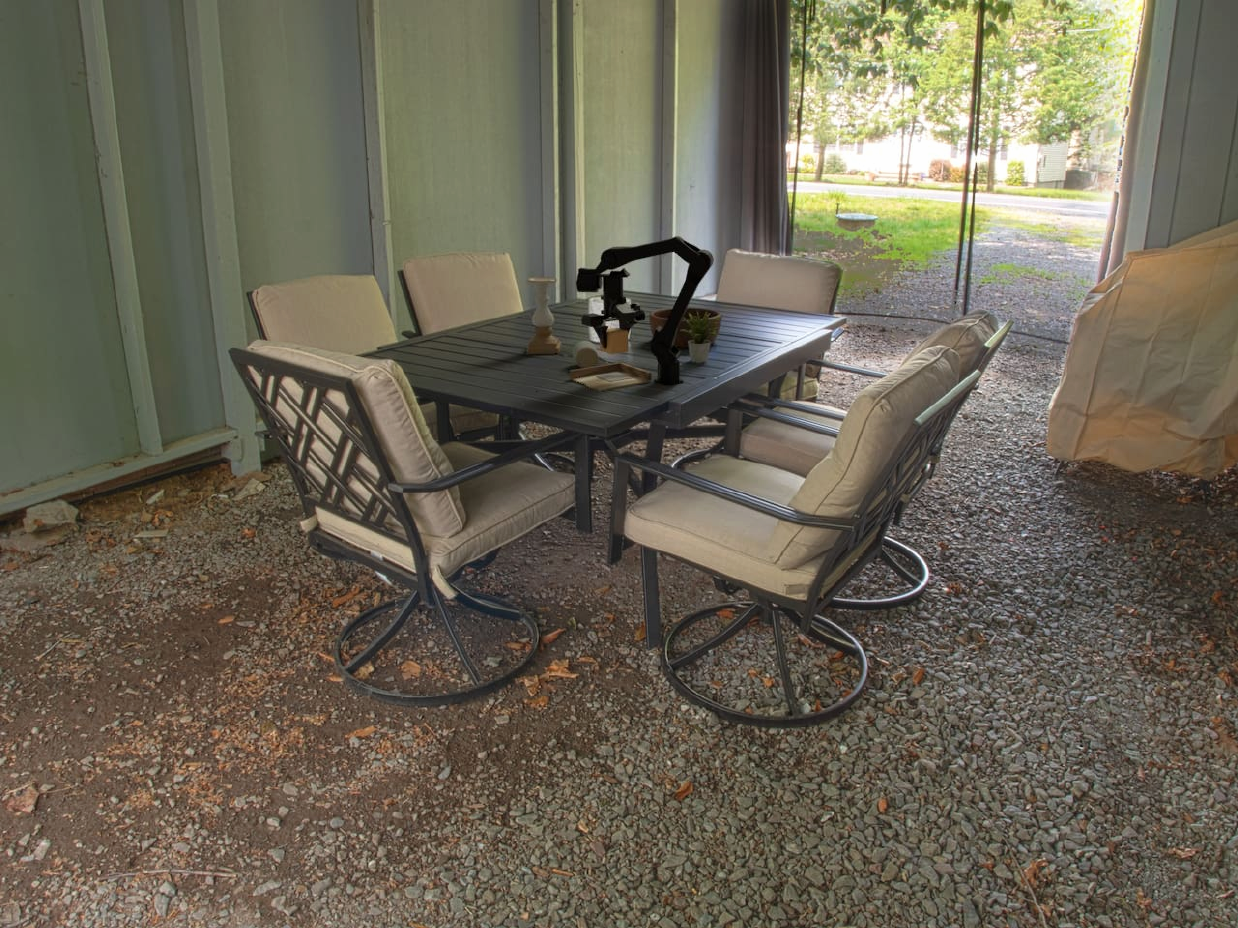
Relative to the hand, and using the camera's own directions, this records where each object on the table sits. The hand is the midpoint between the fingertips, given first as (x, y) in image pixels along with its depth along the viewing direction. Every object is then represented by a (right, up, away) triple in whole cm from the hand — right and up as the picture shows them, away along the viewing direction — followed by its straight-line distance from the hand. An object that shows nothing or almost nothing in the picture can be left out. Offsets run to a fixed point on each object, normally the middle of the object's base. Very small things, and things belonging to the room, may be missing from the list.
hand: (614, 346), depth 254 cm
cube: (0, -1, 0) cm, 1 cm away
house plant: (+27, -2, +23) cm, 36 cm away
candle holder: (-24, +4, +41) cm, 47 cm away
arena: (-1, -10, +2) cm, 10 cm away
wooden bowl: (+24, +8, +51) cm, 57 cm away
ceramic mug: (-8, -4, +19) cm, 20 cm away
